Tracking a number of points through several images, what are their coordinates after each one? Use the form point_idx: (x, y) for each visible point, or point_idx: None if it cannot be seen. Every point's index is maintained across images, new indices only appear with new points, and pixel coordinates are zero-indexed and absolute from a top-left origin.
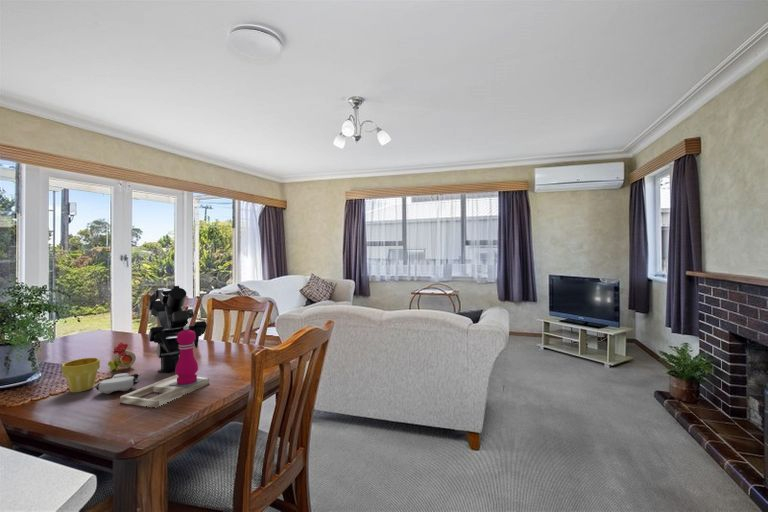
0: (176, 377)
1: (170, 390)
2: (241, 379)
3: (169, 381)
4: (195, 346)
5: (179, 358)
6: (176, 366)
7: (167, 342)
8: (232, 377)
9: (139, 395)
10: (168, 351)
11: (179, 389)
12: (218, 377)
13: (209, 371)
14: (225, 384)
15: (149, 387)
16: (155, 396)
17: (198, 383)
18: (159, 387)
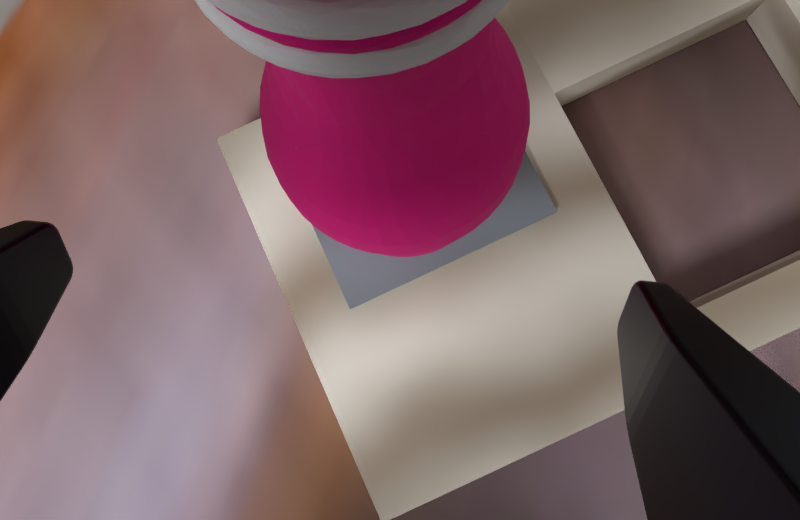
0: (422, 414)
1: (585, 66)
2: (17, 55)
3: (515, 334)
4: (47, 302)
5: (498, 46)
6: (527, 101)
7: (774, 457)
8: (34, 159)
9: (782, 260)
10: (656, 286)
11: (519, 36)
12: (108, 255)
13: (72, 508)
14: (160, 37)
15: (708, 303)
16: (722, 13)
17: None
18: (631, 240)
